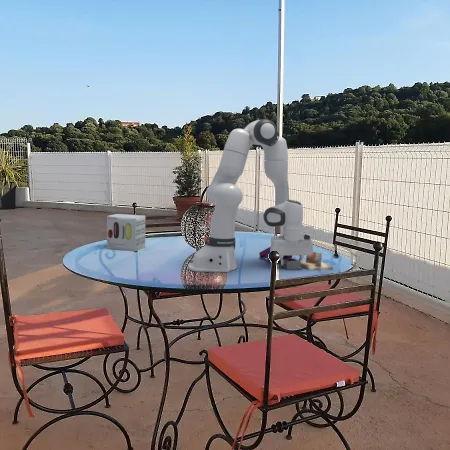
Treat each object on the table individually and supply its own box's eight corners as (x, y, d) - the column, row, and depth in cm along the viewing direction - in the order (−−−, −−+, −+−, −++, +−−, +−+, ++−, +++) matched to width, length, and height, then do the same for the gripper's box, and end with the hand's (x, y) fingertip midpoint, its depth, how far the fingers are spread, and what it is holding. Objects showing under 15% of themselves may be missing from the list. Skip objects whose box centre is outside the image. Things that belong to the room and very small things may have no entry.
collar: (286, 270, 209) (287, 261, 208) (281, 267, 215) (282, 258, 215) (300, 269, 210) (300, 261, 210) (294, 266, 217) (294, 258, 216)
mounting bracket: (259, 270, 233) (277, 261, 218) (255, 254, 236) (274, 244, 220) (274, 268, 238) (293, 260, 223) (271, 253, 240) (290, 243, 225)
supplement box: (106, 249, 246) (105, 215, 243) (117, 245, 258) (117, 213, 256) (135, 251, 242) (135, 217, 239) (145, 247, 254) (146, 215, 252)
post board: (308, 270, 210) (309, 254, 209) (296, 263, 223) (297, 249, 222) (332, 269, 213) (333, 254, 212) (319, 263, 226) (320, 248, 225)
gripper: (273, 236, 205) (272, 266, 207) (315, 236, 210) (313, 265, 212) (268, 234, 211) (267, 263, 213) (309, 234, 216) (307, 262, 218)
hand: (290, 264), depth 213 cm, fingers closed on collar, 6 cm apart
